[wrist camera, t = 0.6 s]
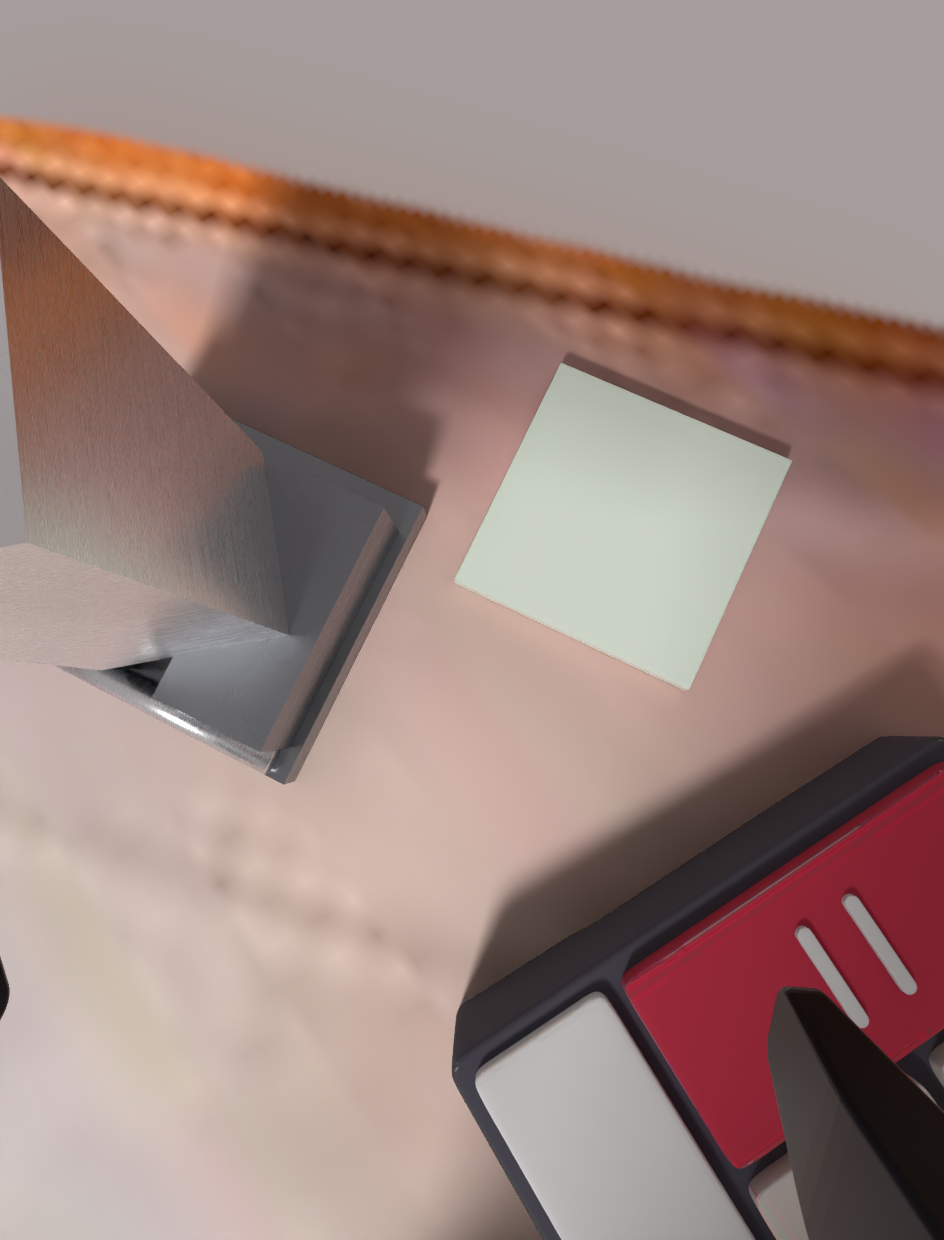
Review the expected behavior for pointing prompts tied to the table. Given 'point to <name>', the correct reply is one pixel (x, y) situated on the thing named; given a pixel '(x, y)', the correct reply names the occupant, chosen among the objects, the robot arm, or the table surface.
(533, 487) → the pad
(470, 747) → the table surface
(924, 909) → the calculator
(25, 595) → the grey stepped block
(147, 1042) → the table surface
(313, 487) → the vise
